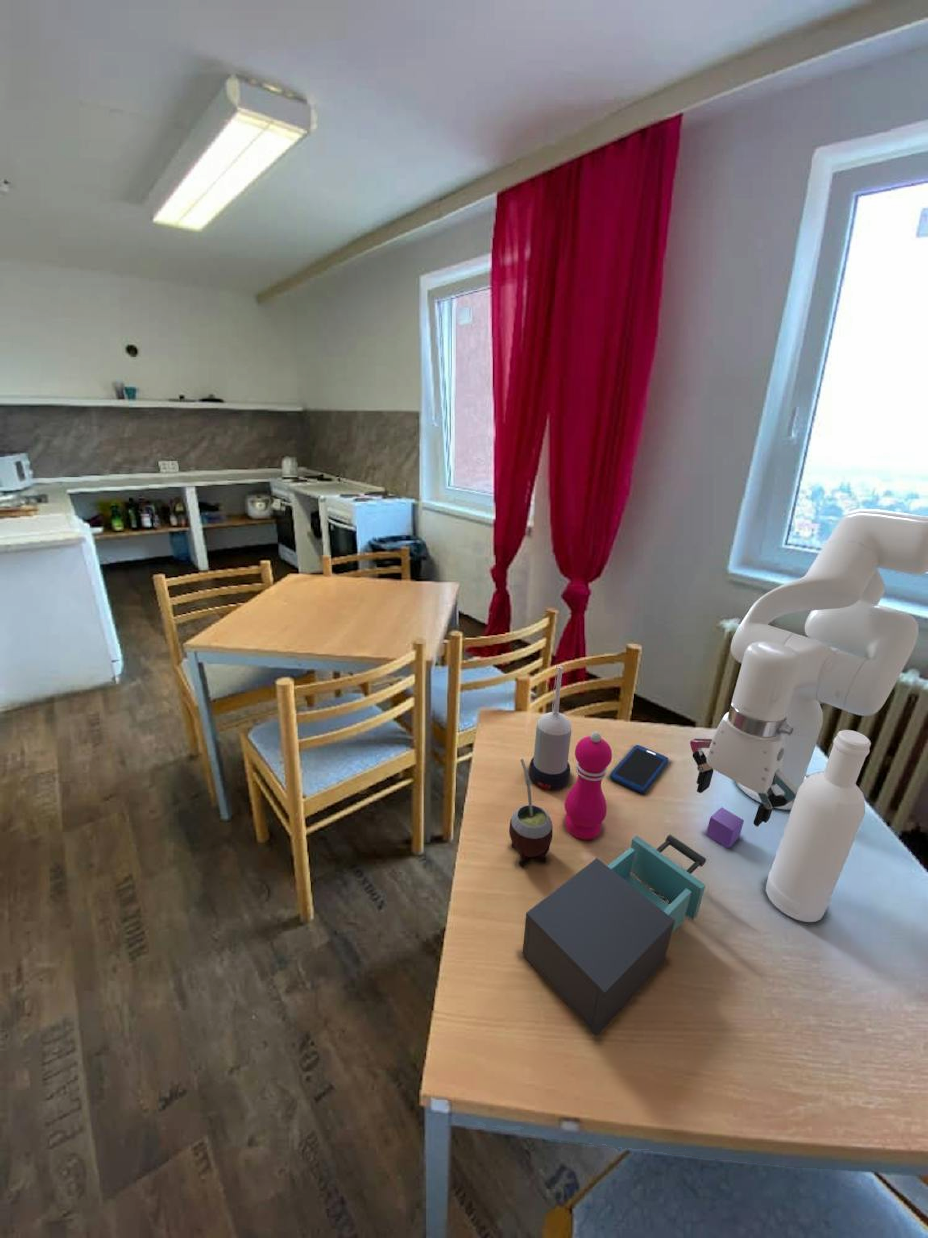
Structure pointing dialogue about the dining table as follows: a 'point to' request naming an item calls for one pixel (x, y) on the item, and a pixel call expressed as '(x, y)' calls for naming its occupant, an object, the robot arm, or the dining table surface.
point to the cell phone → (639, 768)
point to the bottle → (820, 832)
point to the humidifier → (552, 747)
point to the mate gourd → (530, 829)
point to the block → (724, 827)
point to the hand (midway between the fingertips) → (729, 805)
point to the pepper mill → (588, 788)
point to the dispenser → (596, 942)
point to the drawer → (663, 877)
